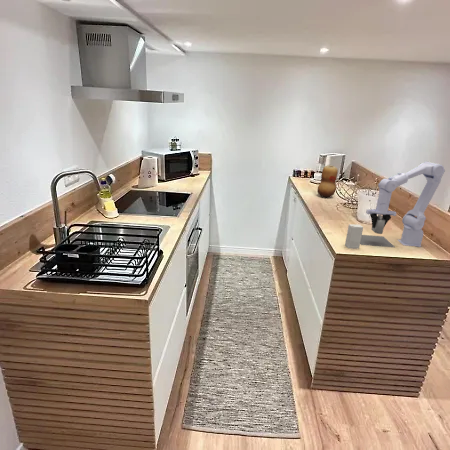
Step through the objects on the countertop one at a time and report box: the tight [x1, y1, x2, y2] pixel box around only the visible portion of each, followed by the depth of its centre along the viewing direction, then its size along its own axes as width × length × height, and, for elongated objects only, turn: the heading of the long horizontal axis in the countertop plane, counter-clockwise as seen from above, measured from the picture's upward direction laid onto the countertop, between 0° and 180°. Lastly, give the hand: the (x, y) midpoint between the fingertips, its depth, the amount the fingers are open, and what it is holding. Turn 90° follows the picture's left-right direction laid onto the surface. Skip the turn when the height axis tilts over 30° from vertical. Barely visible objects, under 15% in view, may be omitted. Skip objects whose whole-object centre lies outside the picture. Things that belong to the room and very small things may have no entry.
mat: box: [360, 234, 396, 248], centre depth 189 cm, size 18×16×1 cm
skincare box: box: [344, 223, 364, 250], centre depth 176 cm, size 6×4×12 cm
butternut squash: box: [317, 164, 339, 198], centre depth 274 cm, size 14×13×25 cm
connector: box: [370, 214, 386, 235], centre depth 181 cm, size 4×8×9 cm, turn 178°
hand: (377, 227), depth 181 cm, fingers closed on connector, 4 cm apart
